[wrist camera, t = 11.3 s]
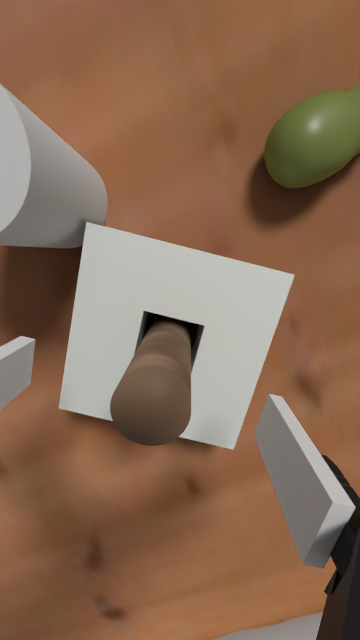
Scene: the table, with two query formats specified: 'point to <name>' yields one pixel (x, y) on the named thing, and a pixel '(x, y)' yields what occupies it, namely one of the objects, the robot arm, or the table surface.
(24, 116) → the grey cylinder peg
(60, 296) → the table surface
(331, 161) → the pear
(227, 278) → the socket block
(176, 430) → the walnut dowel
